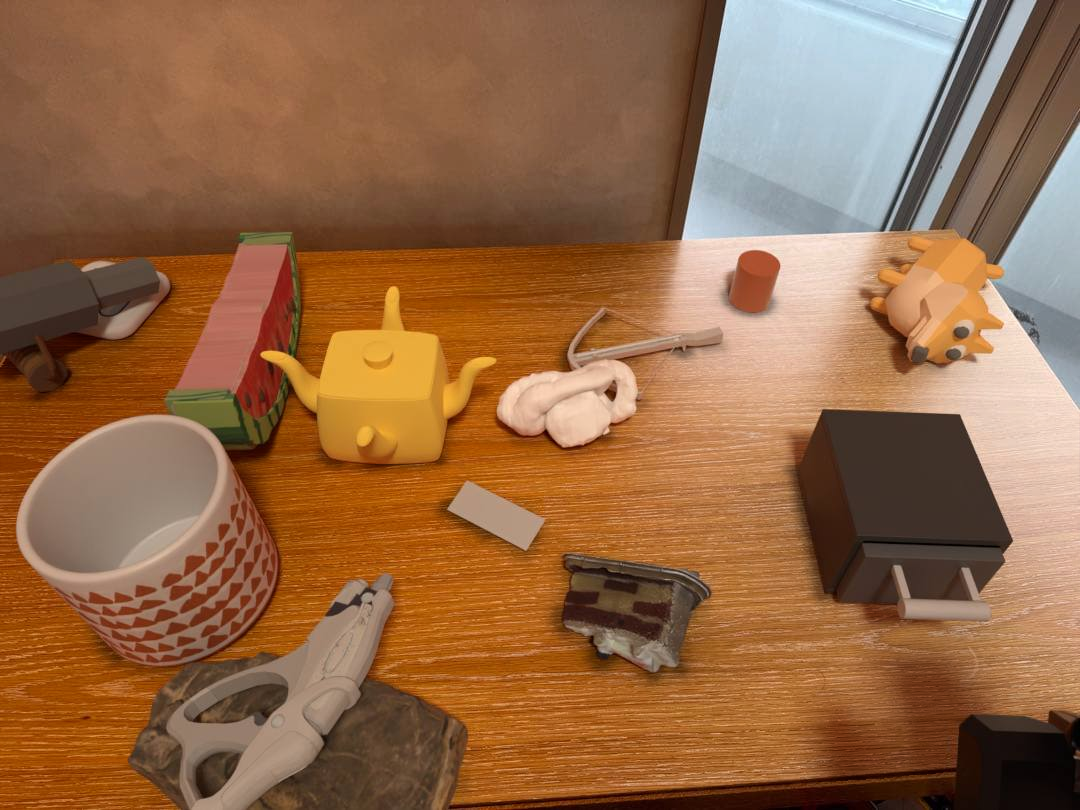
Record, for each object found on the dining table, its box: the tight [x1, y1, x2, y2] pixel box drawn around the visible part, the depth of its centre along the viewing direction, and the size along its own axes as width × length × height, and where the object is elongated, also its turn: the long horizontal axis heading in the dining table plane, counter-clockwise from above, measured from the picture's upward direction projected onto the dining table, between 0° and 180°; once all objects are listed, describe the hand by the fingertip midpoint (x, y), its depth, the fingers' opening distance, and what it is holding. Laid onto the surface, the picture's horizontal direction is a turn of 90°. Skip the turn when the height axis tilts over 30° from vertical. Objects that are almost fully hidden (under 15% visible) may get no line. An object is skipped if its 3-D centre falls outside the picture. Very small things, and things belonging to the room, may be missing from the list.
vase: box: [15, 413, 279, 668], centre depth 60 cm, size 14×14×13 cm
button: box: [74, 260, 171, 341], centre depth 87 cm, size 10×2×10 cm
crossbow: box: [566, 306, 724, 401], centre depth 84 cm, size 16×13×2 cm
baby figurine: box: [495, 359, 639, 448], centre depth 76 cm, size 9×12×8 cm
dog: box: [869, 236, 1005, 365], centre depth 86 cm, size 8×20×13 cm
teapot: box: [260, 285, 497, 465], centre depth 73 cm, size 15×14×10 cm
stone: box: [127, 651, 469, 810], centre depth 55 cm, size 13×21×5 cm, turn 61°
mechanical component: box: [0, 256, 160, 393], centre depth 80 cm, size 10×18×10 cm, turn 139°
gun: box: [166, 572, 396, 810], centre depth 54 cm, size 3×19×10 cm
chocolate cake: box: [561, 551, 714, 673], centre depth 63 cm, size 10×7×12 cm
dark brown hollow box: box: [796, 408, 1014, 595], centre depth 68 cm, size 12×11×8 cm
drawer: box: [836, 541, 1006, 623], centre depth 65 cm, size 16×10×7 cm, turn 179°
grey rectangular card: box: [447, 479, 546, 552], centre depth 70 cm, size 3×8×1 cm, turn 59°
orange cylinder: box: [728, 249, 781, 313], centre depth 89 cm, size 4×4×5 cm
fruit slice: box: [163, 231, 302, 451], centre depth 76 cm, size 26×6×10 cm, turn 3°
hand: (1054, 718), depth 47 cm, fingers closed
